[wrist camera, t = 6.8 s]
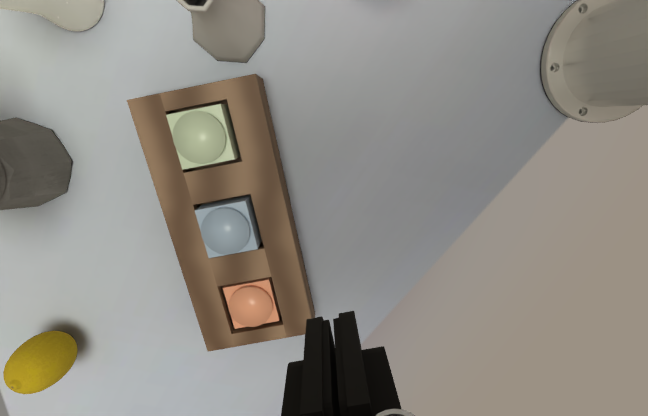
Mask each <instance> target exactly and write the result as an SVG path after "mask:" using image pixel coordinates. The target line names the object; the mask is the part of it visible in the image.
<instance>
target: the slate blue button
mask: <svg viewBox="0 0 648 416" xmlns="http://www.w3.org/2000/svg"><path fill="white" fill-rule="evenodd" d="M195 214H196V217H197V221H198V224H199V227H200V231H201V235H202V239H203V241H204V244H205V247H206V251H207V254H208V257H209V258H213V257H218V256H224V255H229V254H234V253H240V252H245V251H250V250H256V249H258V248H259V246H260V243H261V241H262V239H261V235H260V231H259V227H258V223H257V219H256V215H255V211H254V207H253V203H252V199H251V195H249V196H243V197H238V198H233V199H228V200H223V201H217V202H212V203H207V204H203V205H201V206H200V207H199V208H197V209H196V210H195Z"/></svg>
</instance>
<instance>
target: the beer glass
mask: <svg viewBox="0 0 648 416" xmlns="http://www.w3.org/2000/svg"><path fill="white" fill-rule="evenodd" d="M0 9H5V10H12V11H20V12H27V13H33V14H37V15H40V16H42V17H44V18H46V19H48V20H49V21H51V22H52V23H54V24H55V25H57V26H59V27H61V28H63V29H66V30H69V31H77V32H78V31H85V30H88V29H90V28H92V27H93V26H94V25H95V24H96V23H97V22H98V21H99V20H100V18H101V16H102V13H103V9H104V0H0Z"/></svg>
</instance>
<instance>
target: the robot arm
mask: <svg viewBox="0 0 648 416" xmlns="http://www.w3.org/2000/svg"><path fill="white" fill-rule="evenodd" d="M550 68H551V69H550ZM541 75H542V81H543V86H544V89H545V91H546V94H547V96H548V98H549V99H550V101H551V102H552V104H553V105H554V106H555V107H556V108H557V109H558V110H559V111H560V112H561V113H563V114H564V115H566V116H568V117H569V118H572V119H575V120H578V121H581V122H590V123H597V122H608V121H614V120H617V119H620V118H622V117H625V116H627V115H629V114H631V113H633V112H634V111H636V110H638V109H639V108H640V107H641V106H643V105H648V0H578V1H576V2H575V3H573V4H572V5H571V6H570V7H569V8H568V9H567V10H566V11H565V12H564V13H563V14H562V15H561V17H560V18H559V19H558V20H557V22H556V23H555V25H554V26H553V28H552V30H551V32H550V34H549V35H548V38H547V41H546V44H545V46H544V50H543V55H542V60H541ZM333 321H334V337H335V345H334V341H333V336H332V331H331V327H330V322H329V320H324V321H323V317H317V318H311V319H307V320H306V333H305V347H304V360H302V361H296V362H290V363H289V364H288V368H287V375H286V383H285V391H284V398H283V406H282V413H281V416H415V415H413V414H412V413H411V412H408V411H405V410H402V409H401V406H400V402H399V399H398V395H397V391H396V388H395V384H394V381H393V377H392V373H391V370H390V366H389V362H388V359H387V355H386V352H385V349H384V347H377V348H372V349H366V350H361V344H360V339H359V334H358V329H357V324H356V319H355V314H354V311H350V312H345V313H339V318H336V319H333Z"/></svg>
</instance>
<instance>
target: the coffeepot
mask: <svg viewBox="0 0 648 416" xmlns="http://www.w3.org/2000/svg"><path fill="white" fill-rule="evenodd" d="M71 163H72V161H71V159H70V157H69V155H68V153H67V151H66V149H65V147H64V145H63V144H62V143H61V142H60V140H59V139H58V138H57V137H56V136H55V135H54V133H53V132H52V130H50V129H47V128H44V127H42V126H40V125H37V124H34V123H30V122H27V121H24V120H21V119H18V118H12V119H7V120H3V121H0V210H5V209H15V208H25V207H35V206H40V205H42V204H44V203H46V202H48V201H50V200H52V199H54V198H56V197H58V196H60V195H62V194H64V193H66V191H67V187H68V184H69V181H70V178H71Z"/></svg>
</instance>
